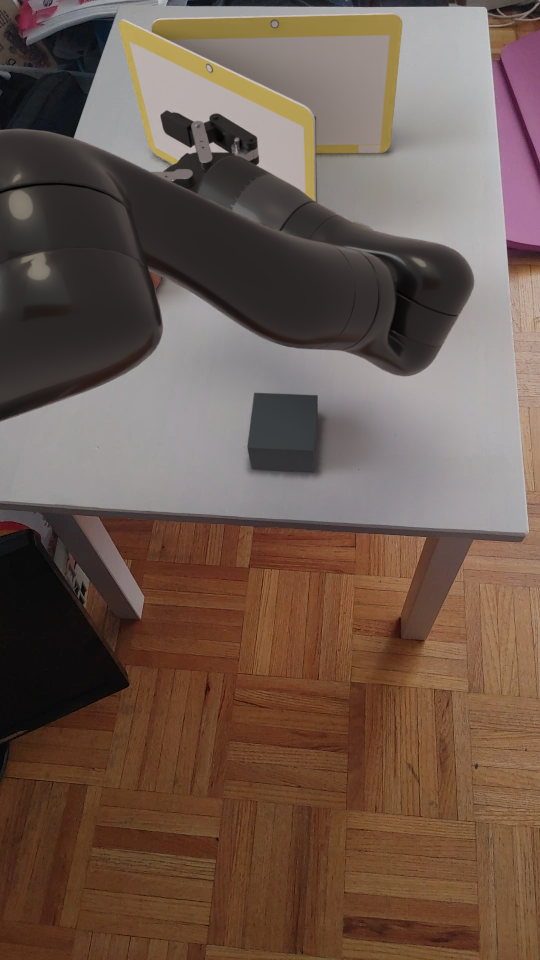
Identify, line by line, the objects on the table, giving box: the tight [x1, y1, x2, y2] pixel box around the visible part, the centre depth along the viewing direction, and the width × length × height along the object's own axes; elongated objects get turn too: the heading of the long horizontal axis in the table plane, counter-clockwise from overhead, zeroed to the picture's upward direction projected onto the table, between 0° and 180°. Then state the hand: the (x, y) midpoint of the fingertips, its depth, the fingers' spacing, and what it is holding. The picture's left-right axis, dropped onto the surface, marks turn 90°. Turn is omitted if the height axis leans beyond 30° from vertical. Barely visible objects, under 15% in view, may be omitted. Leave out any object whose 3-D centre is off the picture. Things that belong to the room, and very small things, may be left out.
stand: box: [247, 392, 319, 474], centre depth 77 cm, size 7×7×5 cm
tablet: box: [118, 12, 403, 203], centre depth 90 cm, size 35×22×20 cm, turn 87°
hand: (132, 144), depth 67 cm, fingers open, 8 cm apart
